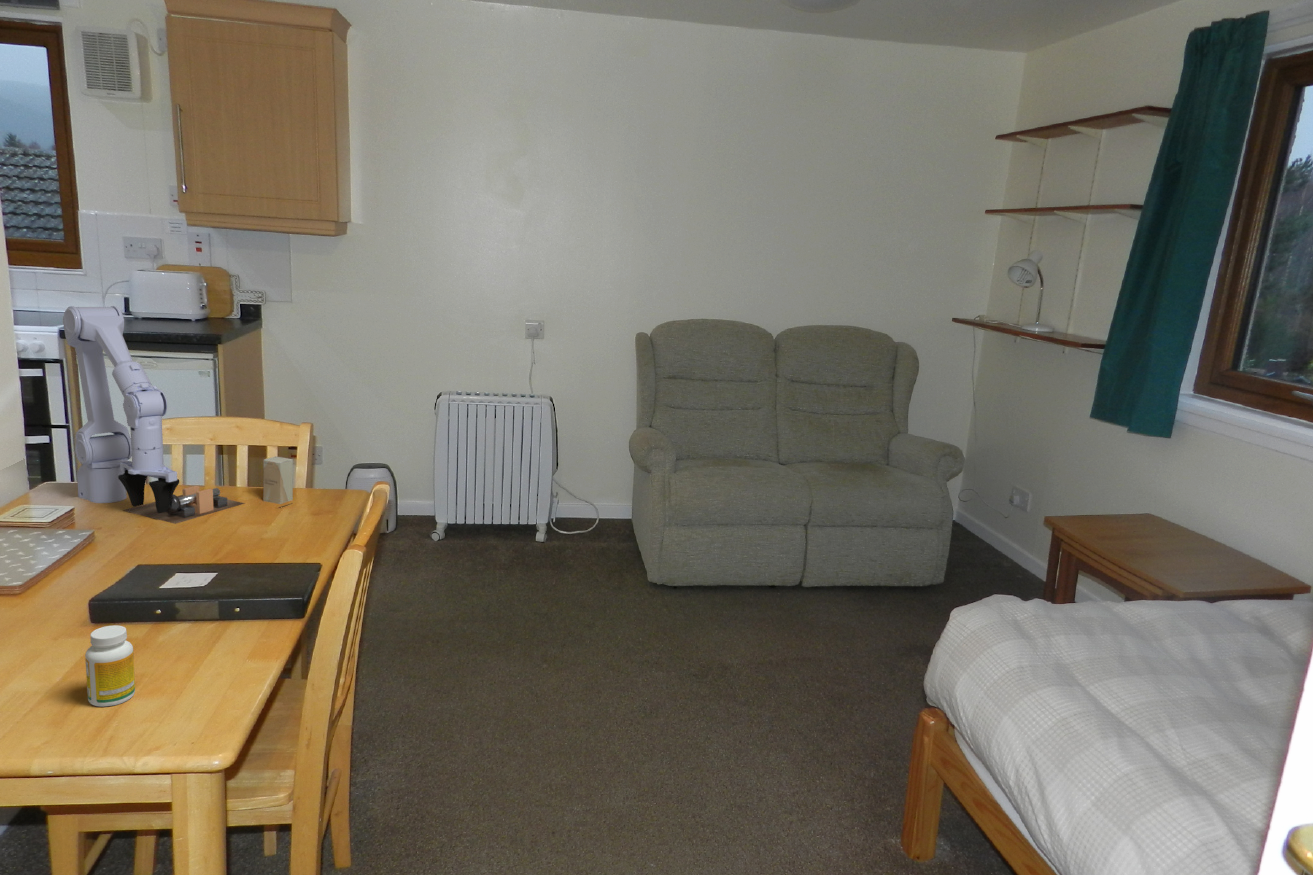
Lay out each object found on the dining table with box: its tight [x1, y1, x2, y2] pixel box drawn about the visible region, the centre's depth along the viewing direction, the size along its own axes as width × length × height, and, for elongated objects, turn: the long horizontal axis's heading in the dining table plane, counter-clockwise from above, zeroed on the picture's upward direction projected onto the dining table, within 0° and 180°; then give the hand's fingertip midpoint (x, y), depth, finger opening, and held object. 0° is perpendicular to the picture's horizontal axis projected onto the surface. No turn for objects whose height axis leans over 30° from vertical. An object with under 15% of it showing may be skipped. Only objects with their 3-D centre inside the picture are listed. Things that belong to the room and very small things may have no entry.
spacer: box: [182, 485, 214, 514], centre depth 186 cm, size 5×4×5 cm
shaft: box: [167, 487, 221, 514], centre depth 185 cm, size 4×12×4 cm, turn 158°
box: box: [262, 456, 294, 509], centre depth 196 cm, size 5×4×11 cm
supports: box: [168, 495, 228, 518], centre depth 186 cm, size 5×11×2 cm, turn 158°
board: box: [121, 494, 246, 525], centre depth 188 cm, size 16×18×1 cm
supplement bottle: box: [84, 624, 136, 708], centre depth 112 cm, size 5×5×10 cm
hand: (150, 508), depth 179 cm, fingers open, 7 cm apart
